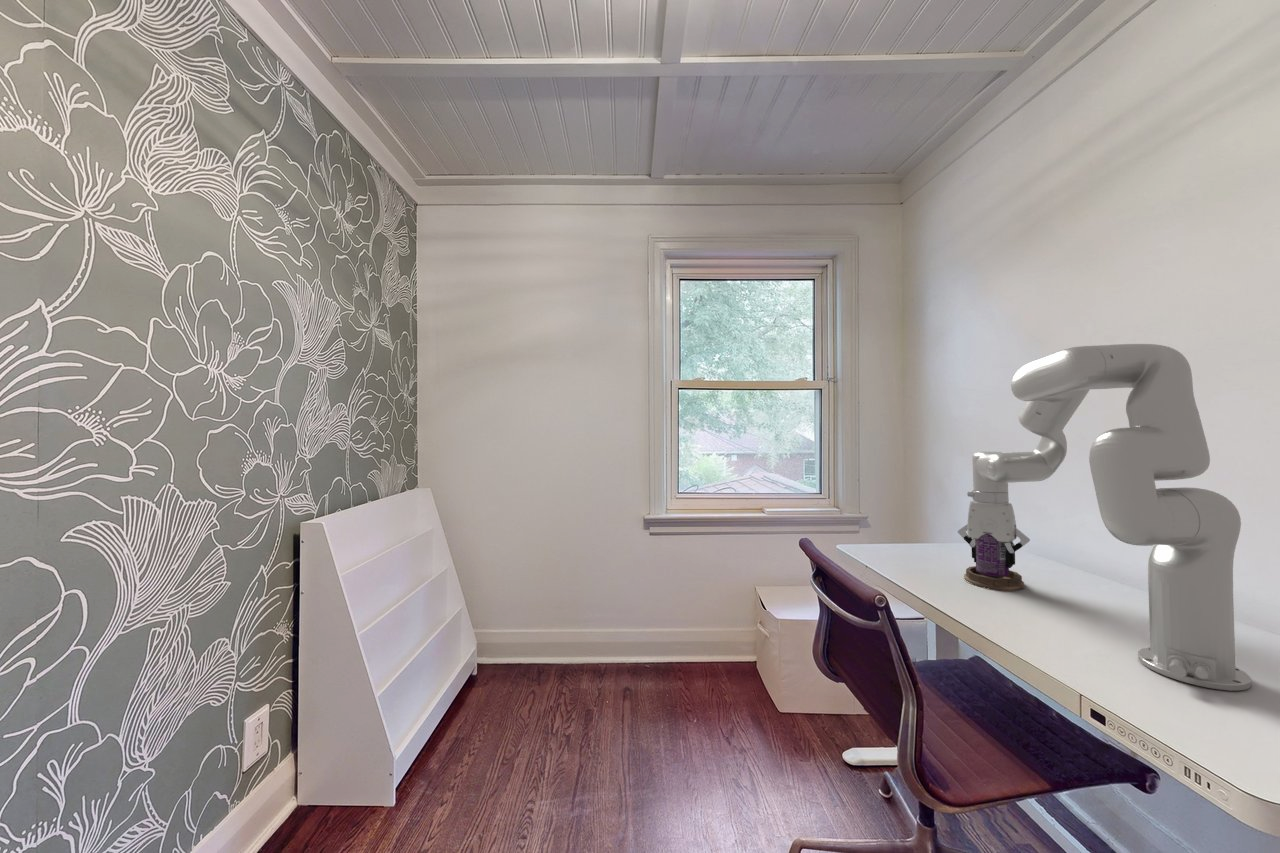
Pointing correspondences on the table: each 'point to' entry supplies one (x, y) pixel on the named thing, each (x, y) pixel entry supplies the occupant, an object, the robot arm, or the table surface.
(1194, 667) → the robot arm
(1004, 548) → the beverage can
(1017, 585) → the walnut coaster
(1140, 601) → the table surface
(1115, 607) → the table surface
